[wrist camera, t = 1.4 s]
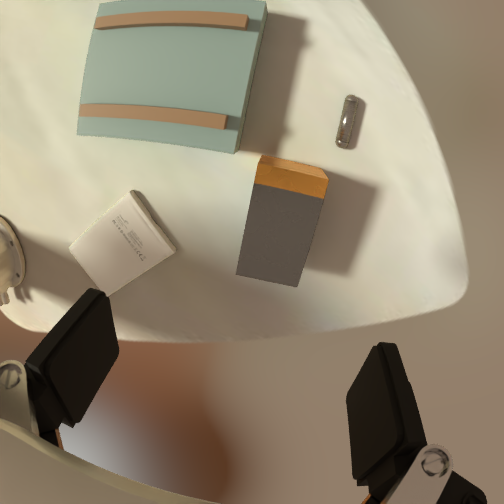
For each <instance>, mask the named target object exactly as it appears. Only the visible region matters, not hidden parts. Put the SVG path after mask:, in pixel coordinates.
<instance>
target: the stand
mask: <svg viewBox="0 0 504 504" xmlns="http://www.w3.org/2000/svg"><path fill="white" fill-rule="evenodd" d="M267 13H268V11H267V4H266V1H259V0H121V1H114V2H107V3H101V4H100V5H99V9H98V12H97V16H96V19H95V23H94V27H93V31H92V36H91V40H90V44H89V49H88V54H87V59H86V65H85V70H84V76H83V83H82V90H81V97H80V105H79V115H78V125H77V135H83V136H98V137H110V138H122V139H132V140H141V141H150V142H158V143H166V144H173V145H180V146H187V147H194V148H200V149H206V150H212V151H218V152H224V153H229V154H235V153H236V152H237V151H238V150H239V146H240V141H241V135H242V130H243V125H244V120H245V115H246V110H247V105H248V100H249V95H250V90H251V86H252V81H253V76H254V71H255V67H256V62H257V57H258V53H259V48H260V44H261V39H262V35H263V31H264V26H265V22H266V18H267Z"/></svg>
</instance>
